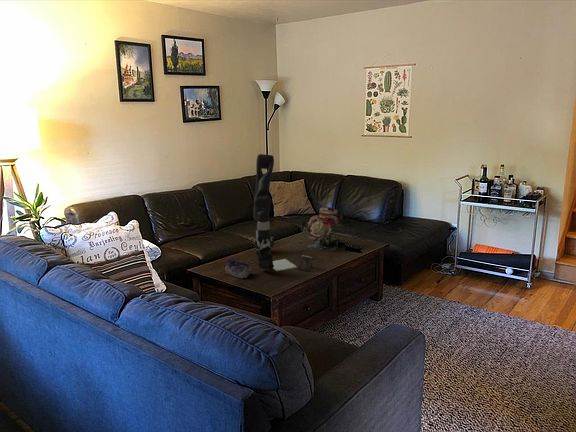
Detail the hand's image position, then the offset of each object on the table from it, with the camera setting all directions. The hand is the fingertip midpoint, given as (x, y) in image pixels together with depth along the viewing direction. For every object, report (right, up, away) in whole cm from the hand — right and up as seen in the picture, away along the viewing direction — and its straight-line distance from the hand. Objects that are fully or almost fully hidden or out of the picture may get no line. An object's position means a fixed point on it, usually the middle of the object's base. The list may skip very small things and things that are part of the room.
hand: (264, 254), depth 289 cm
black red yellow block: (0, -9, +2) cm, 10 cm away
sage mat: (+10, -8, +14) cm, 19 cm away
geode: (-17, -13, 0) cm, 21 cm away
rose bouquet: (+41, +1, +52) cm, 66 cm away
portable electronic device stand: (+26, -10, +7) cm, 29 cm away
